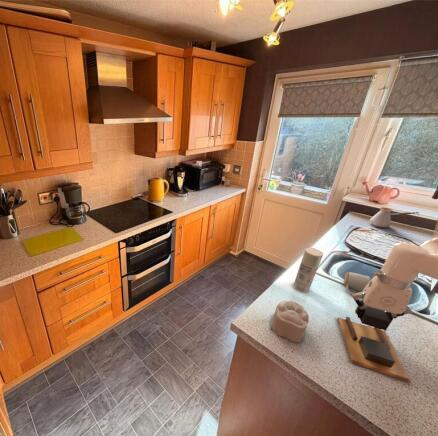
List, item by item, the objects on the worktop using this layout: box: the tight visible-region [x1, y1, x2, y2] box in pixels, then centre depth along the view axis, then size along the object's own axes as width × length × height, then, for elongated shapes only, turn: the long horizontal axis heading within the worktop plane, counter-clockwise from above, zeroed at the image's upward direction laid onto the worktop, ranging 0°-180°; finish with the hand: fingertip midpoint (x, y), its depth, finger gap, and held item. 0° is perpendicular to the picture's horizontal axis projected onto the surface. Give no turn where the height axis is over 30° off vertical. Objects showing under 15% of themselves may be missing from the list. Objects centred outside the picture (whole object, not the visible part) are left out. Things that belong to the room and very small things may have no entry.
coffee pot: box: [369, 206, 420, 229], centre depth 161 cm, size 21×12×15 cm, turn 43°
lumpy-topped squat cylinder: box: [271, 300, 310, 343], centre depth 87 cm, size 10×13×9 cm
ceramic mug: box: [342, 271, 371, 295], centre depth 105 cm, size 11×8×8 cm
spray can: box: [293, 247, 324, 293], centre depth 104 cm, size 6×6×20 cm
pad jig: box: [337, 316, 411, 382], centre depth 80 cm, size 14×19×4 cm
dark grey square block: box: [359, 306, 392, 332], centre depth 81 cm, size 6×6×4 cm
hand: (371, 318), depth 82 cm, fingers closed on dark grey square block, 6 cm apart
